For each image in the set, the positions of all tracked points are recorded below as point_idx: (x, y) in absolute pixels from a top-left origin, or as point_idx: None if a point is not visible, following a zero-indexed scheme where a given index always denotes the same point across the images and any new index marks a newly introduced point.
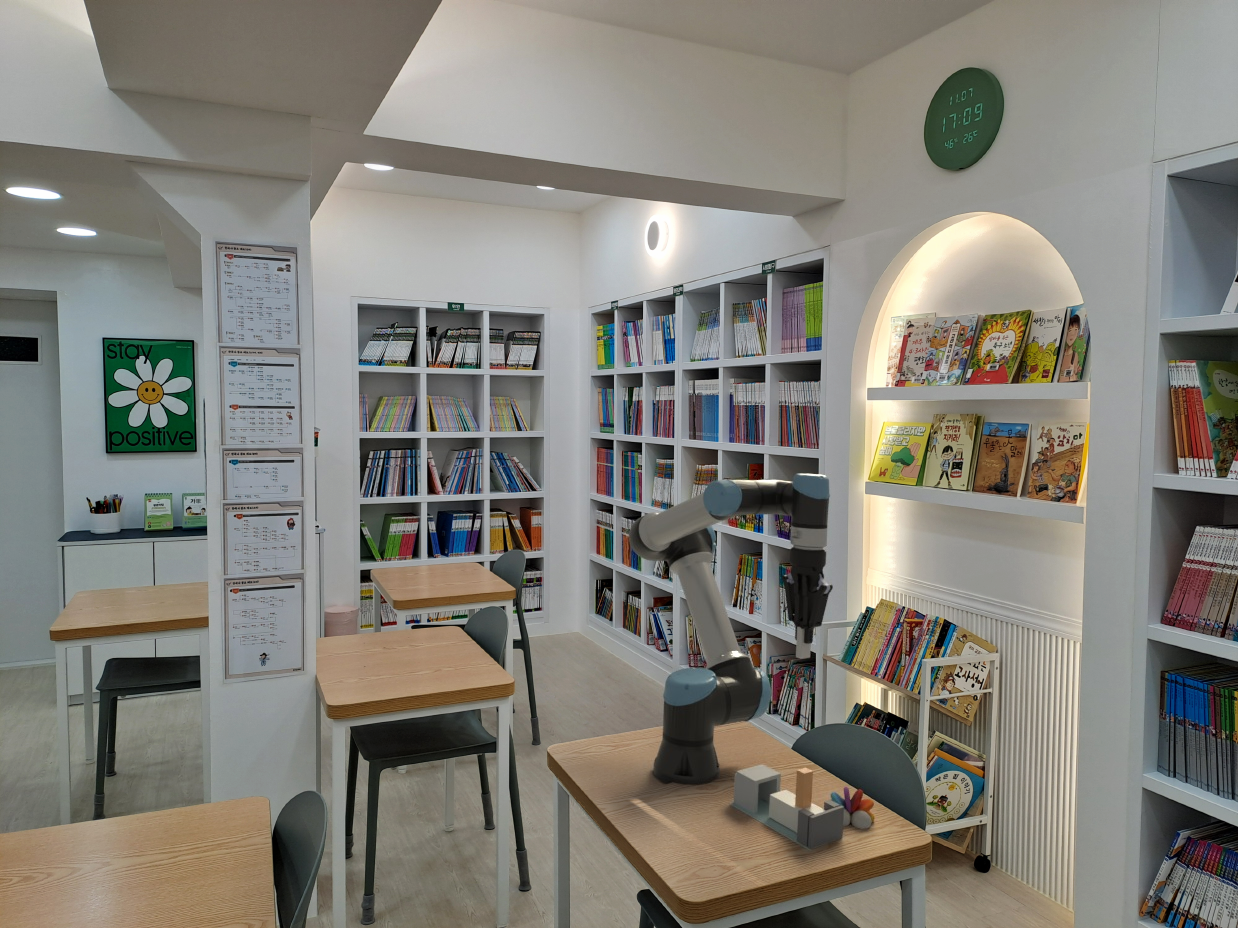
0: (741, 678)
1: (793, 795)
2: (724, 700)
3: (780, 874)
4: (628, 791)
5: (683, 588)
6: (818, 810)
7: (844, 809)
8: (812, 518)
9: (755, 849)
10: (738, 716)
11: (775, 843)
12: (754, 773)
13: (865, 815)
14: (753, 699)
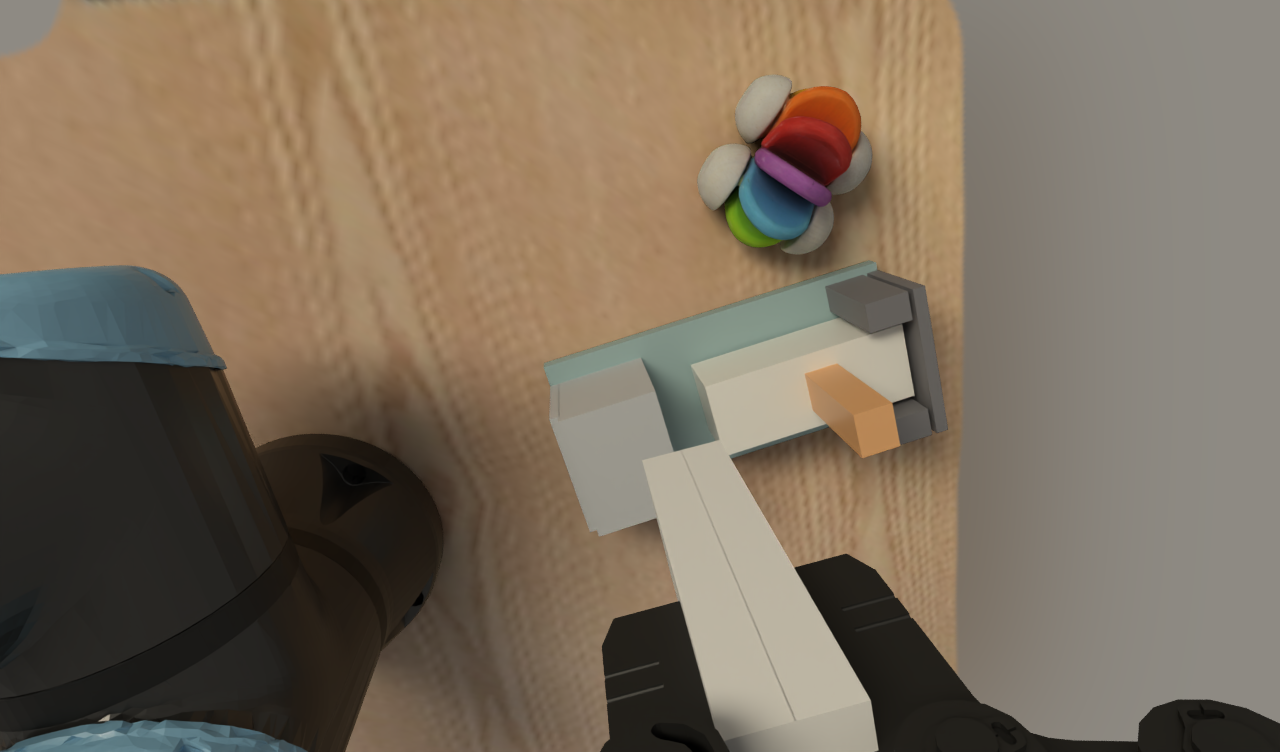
0: (77, 535)
1: (752, 383)
2: (271, 617)
3: (942, 507)
4: (428, 723)
5: None
6: (871, 356)
7: (820, 214)
8: None
9: (823, 516)
10: (263, 469)
11: (814, 455)
12: (631, 483)
13: (867, 158)
14: (205, 420)
